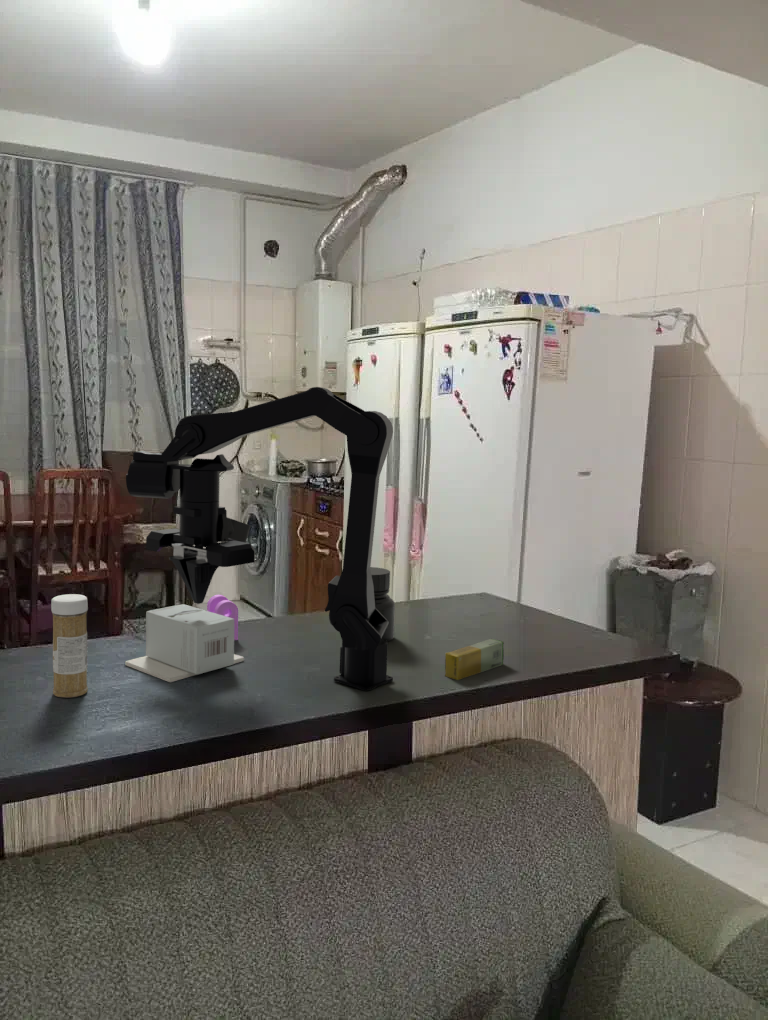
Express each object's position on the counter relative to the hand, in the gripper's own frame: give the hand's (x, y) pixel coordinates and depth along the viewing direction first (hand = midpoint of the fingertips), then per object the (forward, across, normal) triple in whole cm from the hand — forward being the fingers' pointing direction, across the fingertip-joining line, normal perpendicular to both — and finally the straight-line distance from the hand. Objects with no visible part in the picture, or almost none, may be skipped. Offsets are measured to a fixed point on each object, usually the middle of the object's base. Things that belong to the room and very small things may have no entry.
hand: (198, 603), depth 122 cm
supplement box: (+6, -5, 0) cm, 7 cm away
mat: (+10, +3, 0) cm, 10 cm away
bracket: (+10, +12, -9) cm, 18 cm away
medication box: (+10, -31, -30) cm, 44 cm away
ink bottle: (+10, -8, -31) cm, 34 cm away
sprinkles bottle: (+10, +4, +19) cm, 22 cm away
